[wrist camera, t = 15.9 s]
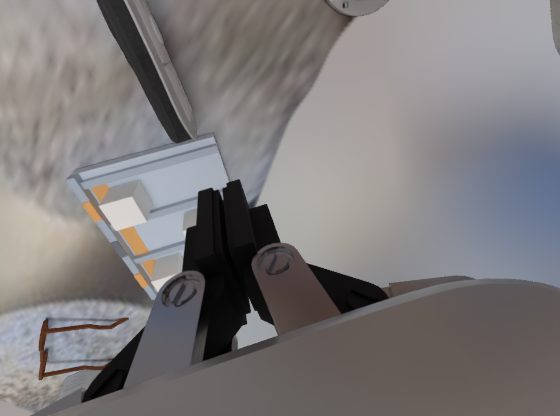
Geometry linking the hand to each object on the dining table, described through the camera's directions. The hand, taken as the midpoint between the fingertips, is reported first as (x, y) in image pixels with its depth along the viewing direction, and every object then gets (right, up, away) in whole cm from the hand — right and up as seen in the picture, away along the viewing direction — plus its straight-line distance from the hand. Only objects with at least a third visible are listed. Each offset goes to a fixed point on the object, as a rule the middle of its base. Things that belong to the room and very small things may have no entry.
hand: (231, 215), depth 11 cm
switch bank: (-14, -1, +33) cm, 36 cm away
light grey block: (-19, +2, +27) cm, 33 cm away
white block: (-16, -9, +35) cm, 39 cm away
